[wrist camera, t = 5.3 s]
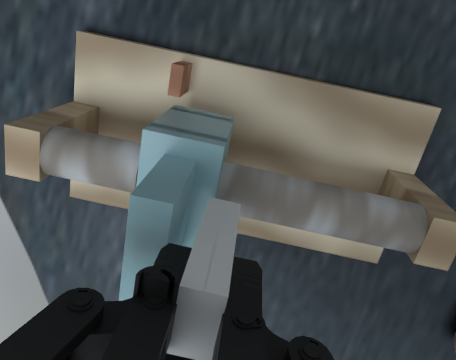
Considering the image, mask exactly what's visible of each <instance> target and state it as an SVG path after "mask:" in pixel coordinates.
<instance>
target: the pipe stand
mask: <svg viewBox="0 0 456 360" xmlns="http://www.w3.org/2000/svg"><path fill="white" fill-rule="evenodd" d="M174 105H179V106H184V107H189V108H193V109H198V110H203V111H207V112H212V113H216V114H221V115H226V116H230V117H235V120H234V125H233V130H232V135H231V140H230V144H229V149H228V154H227V159H226V162H223V165H222V169H221V174H220V179H219V184H218V189H217V194H216V199H221V200H225V201H230V202H234V203H239V204H241V206H240V213H239V221H238V228H237V233H239V234H244V235H248V236H253V237H258V238H262V239H267V240H271V241H276V242H280V243H285V244H290V245H294V246H299V247H303V248H308V249H312V250H317V251H322V252H326V253H331V254H335V255H340V256H344V257H349V258H354V259H358V260H363V261H367V262H372V263H376V264H377V263H378V261H379V258H380V256H381V254H382V251H383V249H384V248H387V249H392V250H397V251H401V252H406V253H407V255H408V256H409V258H410V259H411V261H412V262H413V263H414V264H418V265H423V266H427V267H432V268H436V269H441V270H446V271H448V269H449V267H450V265H451V264H452V262H453V260H454V258H455V256H456V212H455V211H454V210H453V209H452V208H451V207H449V206H448V205H447V204H446V203H445V202H444V201H443V200H442V199H441V198H439V197H438V196H437V195H436V194H435V193H434V192H433V191H432V190H431V189H429V188H428V187H427V186H426V185H425V184H424V183H423V182H422V181H421V180H419V179H418V178H417V177H416V176H415V175H414V174H415V172H416V169H417V167H418V164H419V162H420V159H421V157H422V155H423V152H424V150H425V147H426V145H427V143H428V140H429V138H430V135H431V133H432V131H433V128H434V126H435V123H436V121H437V118H438V116H439V114H440V111H441V108H438V107H436V106H433V105H430V104H425V103H420V102H415V101H411V100H406V99H401V98H397V97H392V96H387V95H383V94H378V93H373V92H369V91H364V90H359V89H355V88H350V87H345V86H341V85H336V84H331V83H327V82H322V81H317V80H313V79H308V78H303V77H299V76H294V75H289V74H284V73H280V72H275V71H270V70H266V69H261V68H256V67H252V66H247V65H242V64H238V63H233V62H228V61H224V60H219V59H214V58H210V57H205V56H200V55H196V54H191V53H186V52H182V51H177V50H172V49H167V48H163V47H158V46H153V45H149V44H144V43H139V42H135V41H130V40H125V39H121V38H116V37H111V36H107V35H102V34H97V33H93V32H88V31H77V33H76V58H75V83H74V101H73V102H70V103H67V104H64V105H61V106H58V107H55V108H52V109H49V110H46V111H43V112H40V113H37V114H34V115H31V116H28V117H25V118H22V119H19V120H16V121H13V122H10V123H7V124H4V132H5V165H6V175H11V176H15V177H20V178H24V179H29V180H34V181H38V182H40V181H41V180H43V179H44V178H46V177H48V176H49V175H53V176H57V177H62V178H67V179H71V182H70V197H75V198H79V199H84V200H88V201H93V202H98V203H102V204H107V205H111V206H116V207H120V208H125V209H129V200H130V194H131V193H132V192H133V191H134V190H135V188H136V184H137V175H138V166H139V157H140V148H141V139H142V130H143V129H144V128H145V127H146V126H148V125H149V124H150V123H151V122H153V121H154V120H155V119H157V118H158V117H159V116H161V115H162V114H163V113H165V112H166V111H167V110H169V109H170V108H171V107H173V106H174Z"/></svg>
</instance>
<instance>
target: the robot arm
mask: <svg viewBox="0 0 456 360" xmlns="http://www.w3.org/2000/svg"><path fill="white" fill-rule="evenodd" d="M240 206H241V204H239V203H234V202H230V201H225V200H221V199H216V198H212V197H209V200H208V203H207V206H206V208H205V211H204V214H203V217H202V220H201V223H200V226H199V229H198V232H197V235H196V238H195V241H194V244H193V247H192V248H190V247H186V246H181V245H177V244H172V243H169V244H167V245H166V246H164V247H163V248H161V250H160V252H159V254H158V256H157V258H156V260H155V262H154V265H153V266H149V267H145V268H143V269H141V270H140V271H139V272H138V273H137V274H136V277H135V285H134V292H133V297H132V298H130V299H126V300H123V301H104V298H103V296H102V294H101V293H99V292H98V291H96V290H94V289H90V288H76V289H72V290H69V291H67V292H65V293H64V294H62V295H61V296H59V297H58V298H57V299H56V300H54V301H53V302H52V303H51V304H49V305H48V306H47V307H46V308H44V309H43V310H42V311H41V312H39V313H38V314H37V315H36V316H34V317H33V318H32V319H31V320H29V321H28V322H27V323H26V324H24V325H23V326H22V327H21V328H19V329H18V330H17V331H16V332H14V333H13V334H12V335H11V336H9V337H8V338H7V339H6V340H4V341H3V342H2V343H1V344H0V360H165V356H166V353H168V354H172V355H176V356H181V357H185V358H189V359H194V360H334V359H333V356H332V354H331V353H330V352H329V350H328V349H327V347H325V346H324V345H323V344H322V343H321V342H319V341H317V340H315V339H313V338H311V337H305V336H300V337H295V338H294V339H292V340H291V341H290V342H288V341H286V340H284V339H282V338H280V337H278V336H277V335H275V334H273V333H272V332H271V331H270V330H269V329H268V328H267V327H266V325H265V321H264V319H263V318H262V270H261V268H260V266H259V264H258V263H257V262H256V261H252V260H247V259H243V258H238V257H234V251H235V243H236V236H237V228H238V221H239V213H240Z"/></svg>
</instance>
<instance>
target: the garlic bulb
mask: <svg viewBox="0 0 456 360" xmlns="http://www.w3.org/2000/svg"><path fill="white" fill-rule="evenodd" d="M452 342H453V348H454V351H455V353H456V332H455V334H454V337H453V341H452Z"/></svg>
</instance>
